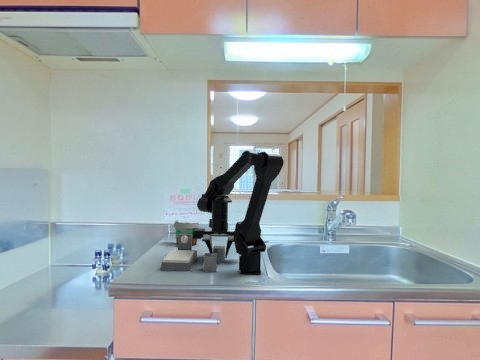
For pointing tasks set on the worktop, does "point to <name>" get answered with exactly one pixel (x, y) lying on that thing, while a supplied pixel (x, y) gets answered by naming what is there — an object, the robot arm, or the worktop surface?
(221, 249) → the block
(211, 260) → the block
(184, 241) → the scale
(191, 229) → the food container
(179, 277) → the worktop surface
